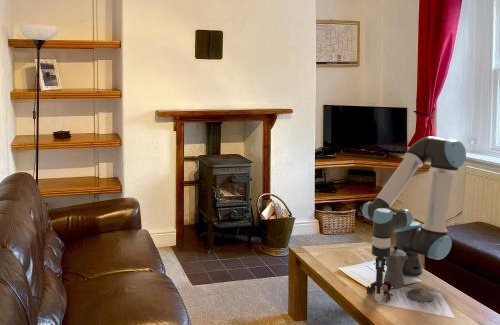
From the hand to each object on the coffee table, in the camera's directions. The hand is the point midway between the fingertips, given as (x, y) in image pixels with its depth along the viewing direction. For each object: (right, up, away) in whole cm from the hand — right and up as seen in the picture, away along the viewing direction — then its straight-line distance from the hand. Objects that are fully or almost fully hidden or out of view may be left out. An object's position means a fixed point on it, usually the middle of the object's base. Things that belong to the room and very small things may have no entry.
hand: (378, 293), depth 231 cm
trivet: (+18, -1, 0) cm, 18 cm away
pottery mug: (0, -2, -1) cm, 2 cm away
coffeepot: (+9, +1, +13) cm, 16 cm away
